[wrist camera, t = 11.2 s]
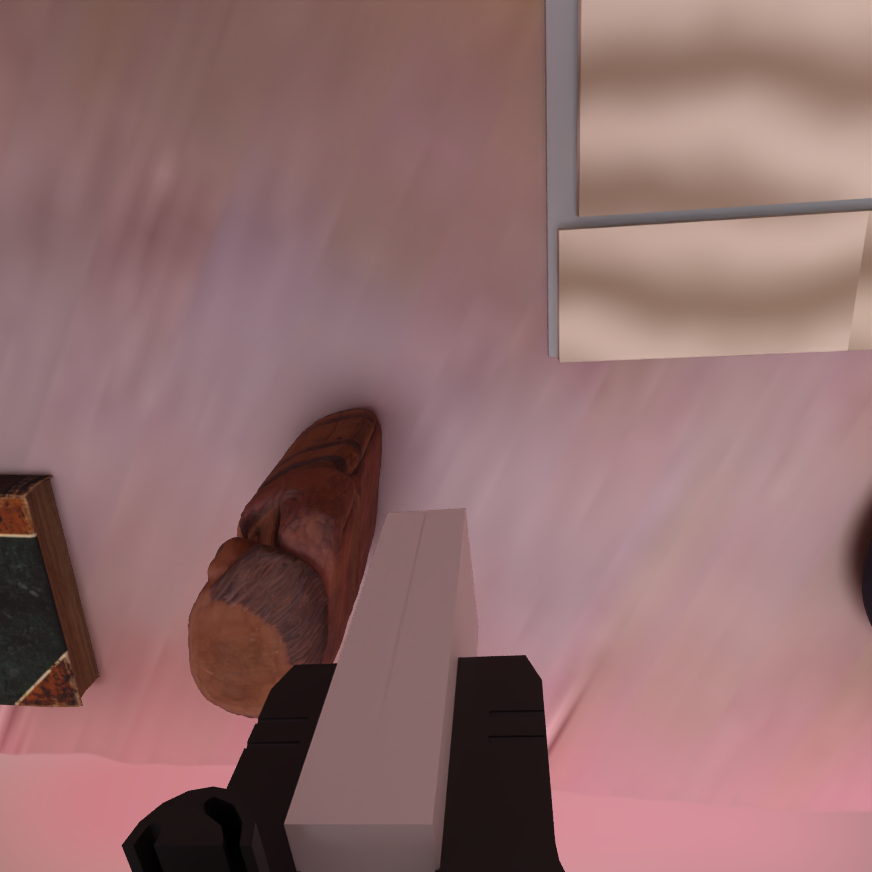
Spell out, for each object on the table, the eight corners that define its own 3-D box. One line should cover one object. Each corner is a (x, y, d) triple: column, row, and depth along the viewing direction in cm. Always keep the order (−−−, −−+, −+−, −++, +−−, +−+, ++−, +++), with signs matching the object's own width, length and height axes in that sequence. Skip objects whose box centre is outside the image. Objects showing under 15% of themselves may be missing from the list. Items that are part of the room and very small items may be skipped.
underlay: (544, -58, 31) (545, -61, 31) (1290, -142, 28) (1300, -146, 27) (548, 355, 38) (548, 356, 38) (1143, 329, 35) (1150, 331, 34)
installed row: (557, 228, 35) (559, 230, 34) (1183, 188, 32) (1212, 188, 31) (557, 356, 38) (559, 362, 37) (1139, 331, 35) (1164, 337, 33)
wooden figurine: (293, 390, 41) (147, 536, 24) (396, 407, 40) (320, 565, 24) (284, 555, 45) (155, 776, 28) (377, 570, 45) (301, 802, 28)
